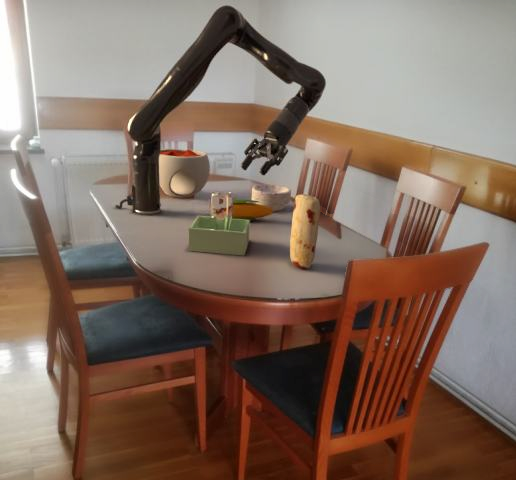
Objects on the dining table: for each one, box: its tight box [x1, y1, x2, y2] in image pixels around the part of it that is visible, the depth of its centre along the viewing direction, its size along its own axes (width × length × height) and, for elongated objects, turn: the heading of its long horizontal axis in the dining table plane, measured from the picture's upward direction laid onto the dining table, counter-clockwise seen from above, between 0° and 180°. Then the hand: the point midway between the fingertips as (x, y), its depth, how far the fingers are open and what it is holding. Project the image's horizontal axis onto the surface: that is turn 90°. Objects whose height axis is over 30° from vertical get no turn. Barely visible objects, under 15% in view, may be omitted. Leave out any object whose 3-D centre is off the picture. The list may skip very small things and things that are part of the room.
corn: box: [232, 199, 274, 222], centre depth 187 cm, size 7×8×20 cm
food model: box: [289, 193, 321, 270], centre depth 144 cm, size 10×7×20 cm
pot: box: [159, 148, 211, 199], centre depth 212 cm, size 24×24×18 cm
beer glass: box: [209, 190, 234, 231], centre depth 157 cm, size 7×7×15 cm
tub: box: [188, 215, 251, 256], centre depth 159 cm, size 17×15×7 cm
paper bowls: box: [251, 184, 292, 212], centre depth 205 cm, size 15×15×8 cm
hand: (252, 170), depth 158 cm, fingers open, 8 cm apart
